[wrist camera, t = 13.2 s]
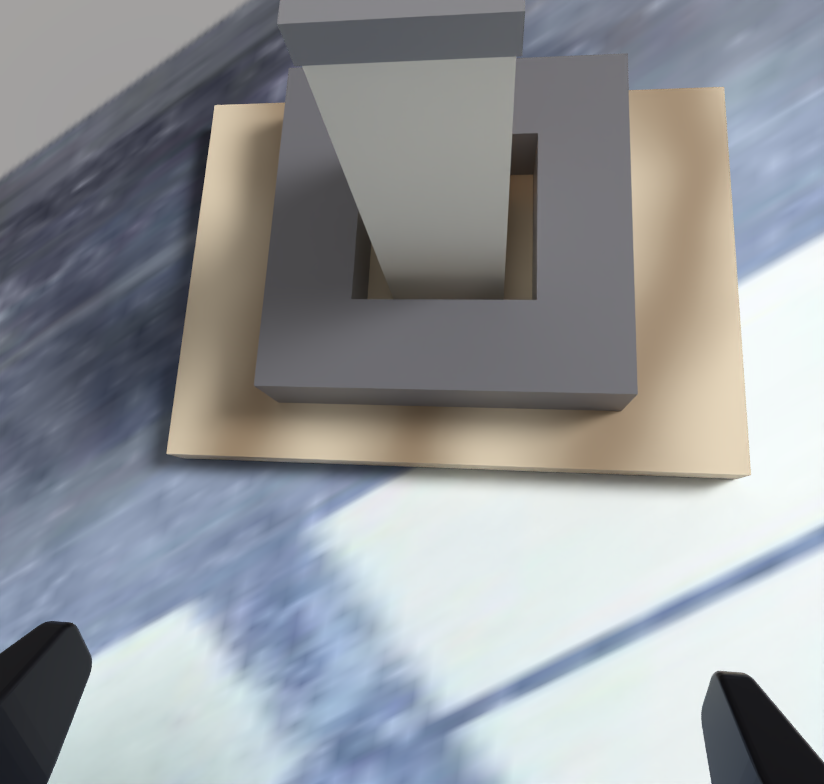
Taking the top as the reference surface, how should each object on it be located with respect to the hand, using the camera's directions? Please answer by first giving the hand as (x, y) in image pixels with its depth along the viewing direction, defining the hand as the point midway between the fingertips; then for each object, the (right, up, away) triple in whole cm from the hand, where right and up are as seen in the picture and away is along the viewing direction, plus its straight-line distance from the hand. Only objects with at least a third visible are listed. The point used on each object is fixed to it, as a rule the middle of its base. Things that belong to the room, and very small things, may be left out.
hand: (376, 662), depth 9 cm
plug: (+2, +9, +15) cm, 18 cm away
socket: (+2, +9, +15) cm, 17 cm away
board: (+2, +9, +16) cm, 18 cm away
